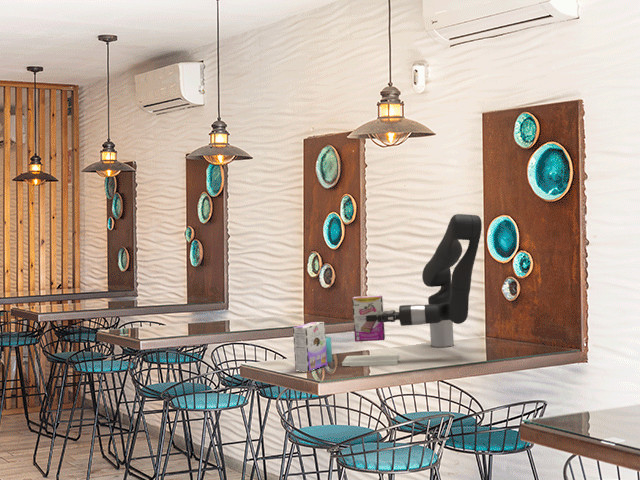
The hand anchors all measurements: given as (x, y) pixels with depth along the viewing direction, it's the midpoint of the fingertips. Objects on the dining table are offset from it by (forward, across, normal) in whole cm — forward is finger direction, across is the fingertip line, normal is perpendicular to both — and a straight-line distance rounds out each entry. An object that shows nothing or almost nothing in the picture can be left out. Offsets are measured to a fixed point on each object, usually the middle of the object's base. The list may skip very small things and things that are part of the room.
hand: (367, 317), depth 306 cm
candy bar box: (-1, 0, -9) cm, 9 cm away
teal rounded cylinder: (+19, +6, -16) cm, 26 cm away
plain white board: (0, 0, -17) cm, 17 cm away
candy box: (+21, -9, -17) cm, 28 cm away
